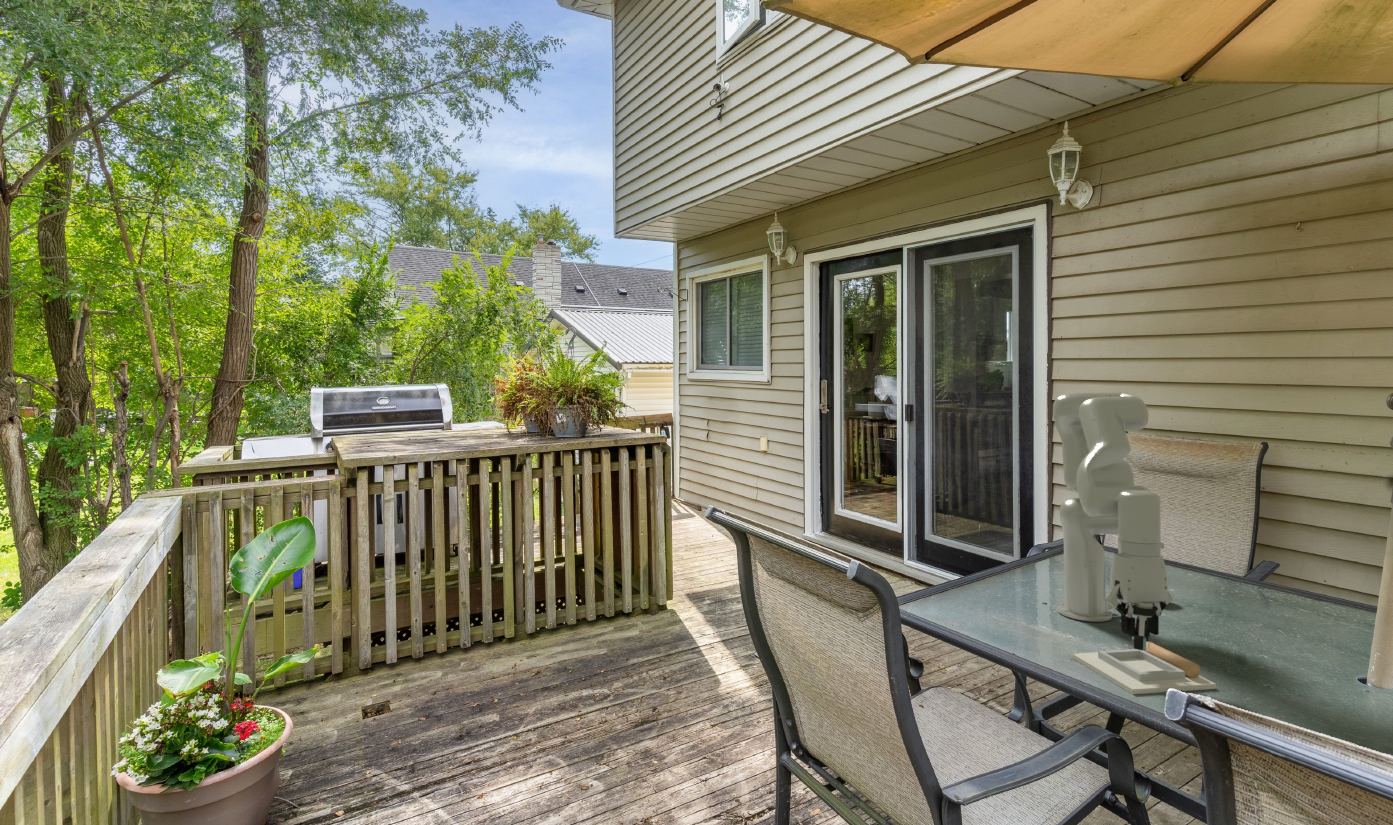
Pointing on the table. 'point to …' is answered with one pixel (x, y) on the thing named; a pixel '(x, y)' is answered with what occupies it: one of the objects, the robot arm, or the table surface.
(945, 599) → the table surface
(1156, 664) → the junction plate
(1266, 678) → the table surface
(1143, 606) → the push button
